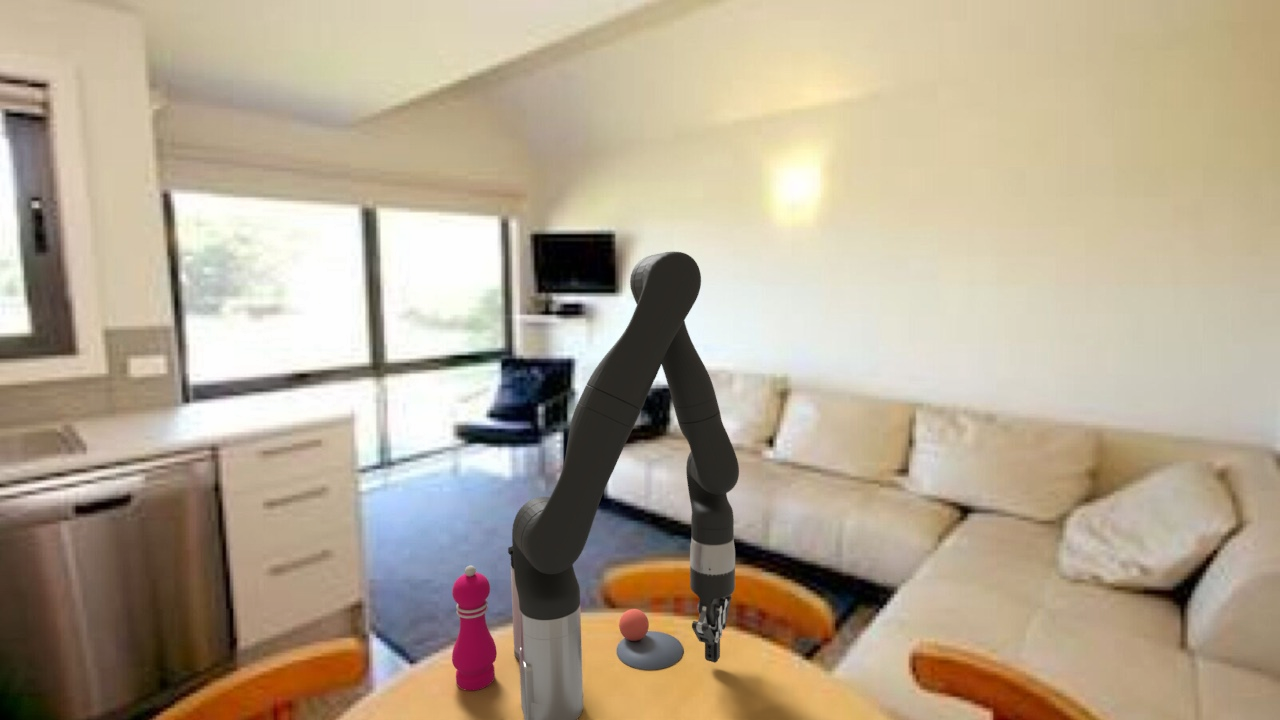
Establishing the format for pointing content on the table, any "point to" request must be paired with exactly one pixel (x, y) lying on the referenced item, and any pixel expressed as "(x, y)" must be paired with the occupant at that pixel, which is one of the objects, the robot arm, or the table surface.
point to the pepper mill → (473, 632)
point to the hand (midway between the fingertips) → (712, 659)
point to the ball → (633, 624)
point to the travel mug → (515, 608)
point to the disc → (650, 651)
